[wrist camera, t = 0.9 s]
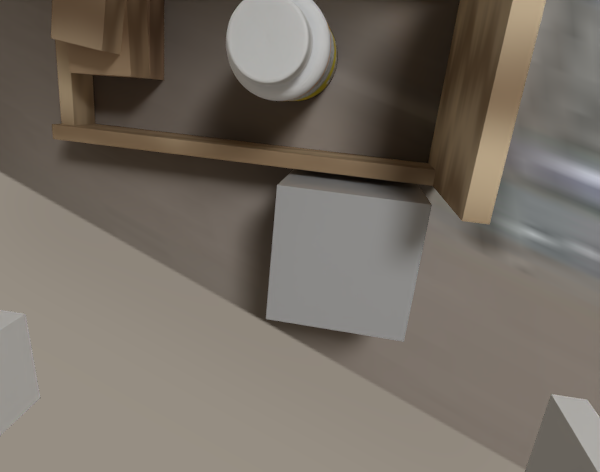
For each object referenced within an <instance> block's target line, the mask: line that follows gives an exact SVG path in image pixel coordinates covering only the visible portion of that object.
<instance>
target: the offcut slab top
mask: <svg viewBox="0 0 600 472" xmlns="http://www.w3.org/2000/svg"><path fill="white" fill-rule="evenodd" d="M67 49H68V59H69V69H70V73H78V74H87V75H99V76H115V77H130V78H146V79H150V69H149V46H148V23H147V1H146V0H125V8H124V20H123V32H122V44H121V55H119V54H115V53H110V52H105V51H100V50H96V49H92V48H88V47H84V46H80V45H76V44H72V43H68V42H67Z"/></svg>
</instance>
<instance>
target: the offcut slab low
mask: <svg viewBox="0 0 600 472" xmlns="http://www.w3.org/2000/svg"><path fill="white" fill-rule="evenodd" d="M146 1H147V23H148V46H149V69H150V79H157V80H164V0H146Z"/></svg>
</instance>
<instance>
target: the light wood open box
mask: <svg viewBox="0 0 600 472" xmlns="http://www.w3.org/2000/svg"><path fill="white" fill-rule="evenodd" d="M545 2H546V0H460V2H459V7H458V12H457V17H456V22H455V28H454V33H453V38H452V43H451V48H450V53H449V58H448V63H447V68H446V74H445V79H444V84H443V89H442V94H441V99H440V104H439V109H438V115H437V120H436V125H435V130H434V135H433V140H432V145H431V150H430V156H429V161H428V163H422V162H414V161H405V160H397V159H388V158H380V157H371V156H363V155H354V154H346V153H338V152H329V151H321V150H312V149H304V148H295V147H287V146H279V145H270V144H262V143H253V142H245V141H236V140H228V139H219V138H211V137H203V136H194V135H186V134H177V133H169V132H160V131H152V130H144V129H135V128H127V127H118V126H110V125H101V124H95V109H94V89H93V75H87V74H78V73H70V69H69V59H68V49H67V42H64V41H60V40H56V39H55V44H56V57H57V70H58V83H59V96H60V109H61V122H62V124H52V131H53V139H58V140H66V141H74V142H82V143H90V144H98V145H106V146H114V147H122V148H130V149H138V150H147V151H155V152H163V153H171V154H179V155H187V156H195V157H203V158H211V159H219V160H227V161H235V162H243V163H251V164H259V165H267V166H276V167H284V168H292V169H300V170H308V171H316V172H324V173H332V174H340V175H348V176H356V177H364V178H372V179H380V180H388V181H396V182H405V183H413V184H421V185H429V186H433V187H434V188H435V189H436V190H437V192H438V193H439V194H440V195H441V196H442V198H443V199H444V200H445V201H446V202H447V203H448V205H449V206H450V207H451V208H452V209H453V211H454V212H455V213H456V214H457V215H458V217H459V218H460V219H461V220H462V221H467V222H475V223H483V224H490V220H491V216H492V212H493V208H494V204H495V200H496V196H497V192H498V188H499V184H500V180H501V177H502V173H503V169H504V165H505V161H506V157H507V153H508V149H509V145H510V141H511V137H512V133H513V129H514V125H515V121H516V117H517V113H518V109H519V105H520V101H521V97H522V93H523V89H524V86H525V82H526V78H527V74H528V70H529V66H530V62H531V58H532V54H533V50H534V46H535V42H536V38H537V34H538V30H539V26H540V22H541V18H542V14H543V10H544V6H545Z"/></svg>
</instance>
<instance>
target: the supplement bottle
mask: <svg viewBox="0 0 600 472" xmlns="http://www.w3.org/2000/svg"><path fill="white" fill-rule="evenodd" d="M226 52H227V57H228V61H229V64H230V67H231V69H232V71H233V73H234V75H235V76H236V78H237V79H238V81H239V82H240V83H241V84H242V85H243V86H244V87H245V88H246V89H247V90H248V91H250V92H251V93H253V94H254V95H256V96H258V97H261V98H263V99H267V100H272V101H302V100H307V99H310V98H312V97H314V96H316V95H318V94H319V93H321V92H322V91H323V90H324V89H325V88H326V87H327V86H328V84H329V83H330V82H331V80H332V78H333V76H334V74H335V71H336V67H337V60H338V53H337V46H336V42H335V39H334V37H333V34H332V32H331V30H330V28H329V25H328V23H327V21H326V19H325V17H324V15H323V13H322V12H321V10H320V9H319V7H318V6H317V5H316V4H315V2H314V1H313V0H243V1H242V2H241V3H240V4H239V5H238V6H237V8H236V9H235V11H234V12H233V14H232V16H231V18H230V21H229V24H228V28H227V34H226Z"/></svg>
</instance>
